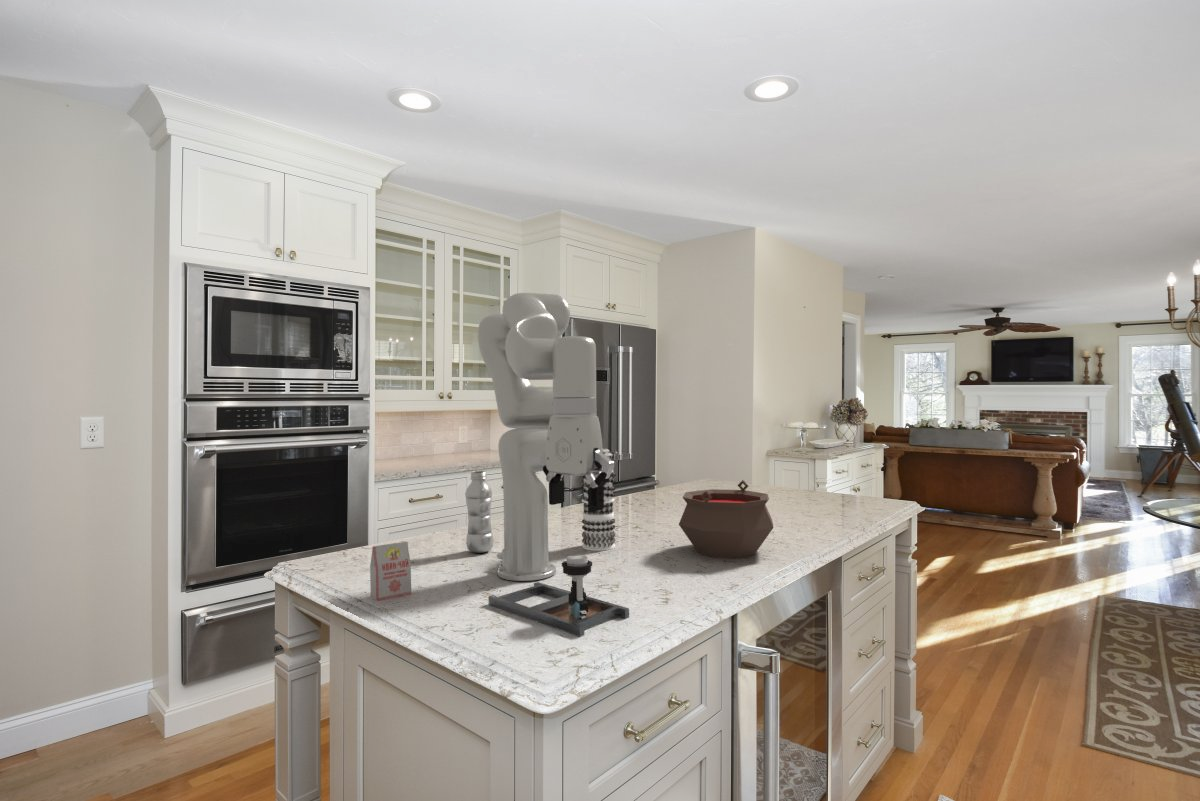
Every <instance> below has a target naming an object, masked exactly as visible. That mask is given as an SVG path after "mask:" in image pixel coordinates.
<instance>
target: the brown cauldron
mask: <svg viewBox="0 0 1200 801" xmlns="http://www.w3.org/2000/svg"><path fill="white" fill-rule="evenodd" d="M743 485H744V487H743ZM737 487H738V488H739V489H718V488H717V489H713V488H712V489H701V490H694V491H692V490H691V491H686V492H685V493H684V494H683V496H682V499H683V500H684V502H685V503H686V504H685V505H686V506H685V507H684V510H683V513H682V514H681V518H680V520H679V523H678V526H679V527H680V529H681V530H682V532H684V534H685V536H686V537H687V539H688V540H689V541H690V544H692V546H693V547H694V549H695V550H696V552H697V553H698V554H702V555H705V556H708V557H711V558H716V559H717V558H719V559H720V558H721V559H722V558H723V559H724V558H725V559H741V558H747V557H751V556H755V555H756V553H757V552H758V550H759V549H760V547H761V546H762V544H763V543H764V542H765V541H766V539H767V538H768V536H769V534H771V532H772V531H773V529H774V522H773V518H772V516H771V514H770V512H769V509H768V507H767V505H766V504H767V503H768V501H769V500H770V497H769V494H768V493H763V492H758V491H753V490H747V488H749V485H748V484H747V483H746V482H745V480H744V479H742V480H741V481H740V482H739V483H738V484H737Z"/></svg>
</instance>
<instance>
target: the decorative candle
mask: <svg viewBox="0 0 1200 801" xmlns="http://www.w3.org/2000/svg"><path fill="white" fill-rule="evenodd" d="M603 454H605V455H606V456H607V457H608V458H610V459H611V460H612V461H613V456H614V454H612V453H611V451H610V449H608V448H603ZM602 468H603V467H602ZM601 472H602V471H601ZM616 475H617V474H616V473H615V472H614V470H613V471H612V473H611V478H610V479H609V480H608V481H607V485H606V486H604V508H603V510H598V511H594V512H590V511H589V510H588V488H590V487H591V485H590V484H589V482H588V480H587V478H586V477H585V475H583V476H580V477H581V480H580V485H581V486H580V491H581V492H583V493H582V494H581V495H580V496H581V497H580V498H581V502H582V503H583V512H582V520H581V523H582V524H583V525H582V527H581V529H582V530H583V531H582V533H581V536H582V539H581V542H582V545H581V546H582V550H583V549H584V550H585V551H594V552H601V551H609V550H610V551H611V550H613V549H615V548H616V544H615V543H616V538H615V537H616V532H615V531H614V530H615V528H616V525H614V524H615V522H616V519H615V512H614V502H615V501H616V499H615V498H614V497H616V494H615V493H614V491H616V488H615V487H614V486H613V484H614V483H616V481H617V480H616V479H614V478H615V477H616ZM593 476H594V477H595V475H593ZM595 479H596V477H595Z"/></svg>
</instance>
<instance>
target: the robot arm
mask: <svg viewBox="0 0 1200 801" xmlns="http://www.w3.org/2000/svg"><path fill="white" fill-rule="evenodd" d="M569 306H570V305H569V304H568V302H567V300H566V299H565V298H564V297H563V296H561V295H558V294H553V293H552V294H551V293H536V292H535V293H534V292H519V293H514V294H512V295H510V296H509V297H508V298H506V299H505V301H504V303H503V305H502V312H501V313H495V314H491V315H487V316H485V317H483V318H482V319H481V321H480V322H479V325H478V327H477V329H478V330H477V341H478V348H479V353H480V355H481V358H482V361H483V362H484V364H485V366H486V368H487V371H488V372H489V374H490V376H491V380H492V385H493V389H494V395H495V401H496V406H497V411H498V416H499V420H500V422H501V423H502V425H503V426H504V427H506V428H508V429H509V430H507V431H505V432H503V434H502V435H501V436H500V438H499V440H498V445H497V447H498V458H499V462H500V467H501V476H502V488H503V491H502V492H503V544H504V545H503V546H504V547H503V549H502V550H501V552H498V553H497V554H496V558H497V559H499V560H502V565H500V566H499V567H498V569H497V576H498V577H499V578H501V579H503V580H508V581H512V582H513V581H515V582H529V581H537V580H538V581H539V580H544V579H547V578H549V577H550V578H551V577H552V576H554V575H555V574H556V572H557V568H556V566H555V564H553V563H551V562H550V561H549V560H550V559H549V508H548V506H549V505H550V506H551V505H552V506H554V505H558V504H559V505H560V504H564V502H565V480H563V479H562V478H563V477H564V476H565V475H566V476H567V475H568V476H575V477H581V476H583V475H585V477H586V478H587V480H588V482H589V484H590V485H591V487H590V488H588V510H589V511H590V512H594V511H598V510H603V508H604V486H606V485H607V481H608V480H609V479H610V478H611V473H612V471H613V472H614V468H615V461H614V460H613V459H612V460H611V459H610V458H608V457H607V456H606V455H605V454H603V438H602V431H601V422H600V420H599V416H597V411H598V410H597V346H596V343H595V340H594V339H593V338H591V337H588V336H580V335H579V336H578V335H577V336H575V335H572V336H571V335H570V336H568V335H567V336H563V334H564V333H565V332H566V330H567V328H568V327H569V324H570V320H571V311H570V307H569ZM539 380H540V381H541V380H542V381H545V380H548V381H549V380H550V381H552V386H534V385H533V384H532V383H531V381H539ZM602 467H603V468H602ZM601 471H602V472H601ZM538 472H543V473H544V475H545V479H546V482H547V483H548V491H547V489H546V486H545V484H544V483H543V482H542V481H541V479H540V478H539V477H538V475H537V473H538ZM593 475H595V477H596V479H595V477H594V476H593Z"/></svg>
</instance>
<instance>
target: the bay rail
mask: <svg viewBox="0 0 1200 801" xmlns="http://www.w3.org/2000/svg"><path fill="white" fill-rule="evenodd" d="M569 593H571V590H570V591H569V590H568V589H567V590H566V589H563V588H560V587H556V586H553V585H549V584H545V583H542V582H540V581H539V582H538V581H537V582H534V583H533V586H530V587H527V588H523V589H519V590H516V591H512V592H510V593H506V594H502V595H499V596H496V595H494V594H492V595H489V596H487V597H488V606H492V607H495V608H497V609H500V610H502V611H506V612H509V613H511V614H514V615H517V616H520V617H522V618H525V619H529V620H532V621H534V622H537V623H540V624H543V625H546V626H548V627H551V628H555V629H557V630H560V631H563V632H565V633H569V634H572V635H573V636H576V637H579V638H581V637H582V636H583V637H584V636H585V630H588V629H591V628H594V627H596V626H598V625H601V624H603V623H606V622H608V621H611V620H613V619H614V620H615V619H616V618H623V619H627V618H630V608H629V607H626V606H623V605H619V604H615V603H612V602H608V601H605V600H601V599H597V598H594V597H591V596H588V595H586V601H587V602H588V612H587V614H586V617H585V618H583V619H576V618H575V617H574V616H573V615H572V614H571V616H570V615H569ZM542 594H543V595H547V596H550V597H553V598H554V599H551V600H548V601H545V602H542V603H539V604H536V605H532V606H530V607H529V606H526V605H523V604H521V603H518V601H519V602H520V601H522V600H525V599H528V598H532V597H536V596H538V595H542Z"/></svg>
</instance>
